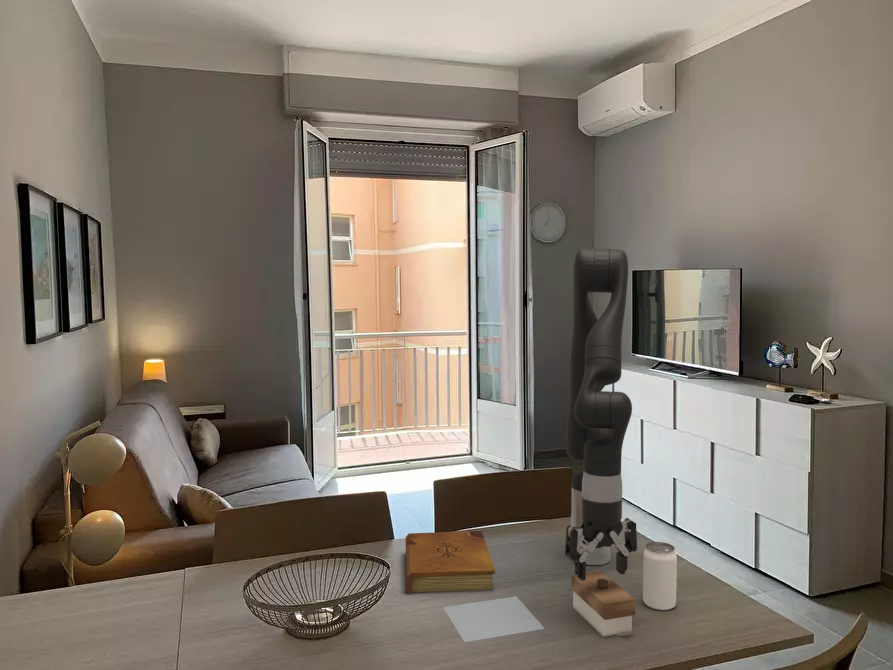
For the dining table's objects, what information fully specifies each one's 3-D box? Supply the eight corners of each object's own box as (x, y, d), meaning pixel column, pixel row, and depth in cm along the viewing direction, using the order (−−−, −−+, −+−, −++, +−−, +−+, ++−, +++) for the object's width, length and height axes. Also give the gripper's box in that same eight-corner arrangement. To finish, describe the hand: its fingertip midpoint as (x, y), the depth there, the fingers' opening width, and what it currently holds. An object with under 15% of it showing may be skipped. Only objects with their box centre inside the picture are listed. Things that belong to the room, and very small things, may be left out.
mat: (442, 609, 137) (442, 607, 137) (516, 598, 142) (516, 596, 142) (464, 644, 124) (464, 642, 124) (544, 631, 128) (544, 628, 128)
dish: (573, 609, 137) (573, 590, 136) (599, 605, 138) (599, 586, 138) (603, 639, 125) (603, 618, 125) (631, 634, 127) (632, 613, 127)
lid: (571, 589, 137) (571, 569, 136) (600, 585, 139) (600, 565, 138) (604, 620, 124) (604, 597, 124) (635, 614, 126) (635, 593, 126)
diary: (405, 556, 166) (405, 533, 166) (481, 553, 167) (481, 530, 167) (407, 598, 143) (407, 572, 143) (495, 595, 144) (495, 568, 144)
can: (677, 612, 135) (678, 554, 134) (644, 609, 136) (645, 551, 136) (673, 597, 142) (674, 541, 141) (641, 595, 143) (642, 539, 142)
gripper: (624, 484, 136) (623, 563, 137) (559, 492, 132) (558, 572, 133) (645, 496, 128) (644, 579, 130) (577, 504, 124) (576, 589, 126)
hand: (600, 575), depth 131 cm, fingers open, 8 cm apart
